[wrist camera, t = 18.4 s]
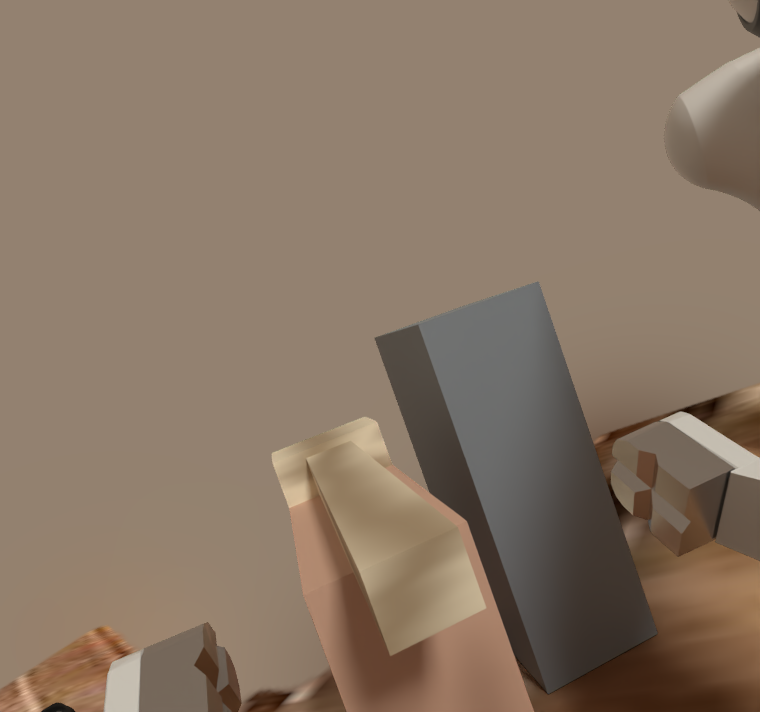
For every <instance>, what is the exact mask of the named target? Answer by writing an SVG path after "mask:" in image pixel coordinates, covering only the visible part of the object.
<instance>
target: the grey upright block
mask: <svg viewBox="0 0 760 712" xmlns="http://www.w3.org/2000/svg"><path fill="white" fill-rule="evenodd" d="M375 340H376V343H377V346H378V349H379V352H380V355H381V357H382V360H383V363H384V366H385V369H386V371H387V374H388V377H389V380H390V383H391V385H392V388H393V391H394V394H395V396H396V400H397V402H398V405H399V408H400V411H401V414H402V416H403V419H404V422H405V425H406V428H407V430H408V433H409V436H410V439H411V442H412V444H413V447H414V450H415V453H416V456H417V459H418V461H419V464H420V467H421V469H422V473H423V475H424V478H425V481H426V484H427V486H428V489H429V492H430V494H432V495H433V496H434V497H436V498H437V499H438V500H440V501H441V502H442V503H444V504H445V505H446V506H448V507H449V508H450V509H452V510H453V511H454V512H456V513H457V514H458V515H460V516H461V517H462V518H464V519H465V520H466V521H467V523H468V526H469V529H470V532H471V534H472V537H473V540H474V543H475V546H476V549H477V551H478V554H479V557H480V560H481V563H482V566H483V568H484V571H485V574H486V577H487V580H488V583H489V585H490V588H491V591H492V594H493V597H494V599H495V602H496V605H497V608H498V611H499V614H500V616H501V619H502V622H503V625H504V628H505V631H506V633H507V636H508V639H509V642H510V645H511V648H512V650H513V653H514V655H515V657H516V658H517V659H518V660H519V661H520V662H521V664H522V665H523V666H524V667H525V668H526V669H527V670H528V672H529V673H530V674H531V675H532V676H533V677H534V678H535V680H536V681H537V682H538V683H539V684H540V685H541V687H542V688H543V689H544V690H545V691H546V692H547V693H548V694H550V693H551V692H553V691H555V690H557V689H559V688H561V687H562V686H564V685H566V684H568V683H570V682H571V681H573V680H575V679H577V678H579V677H580V676H582V675H584V674H586V673H588V672H589V671H591V670H593V669H595V668H597V667H599V666H600V665H602V664H604V663H606V662H608V661H609V660H611V659H613V658H615V657H617V656H618V655H620V654H622V653H624V652H626V651H627V650H629V649H631V648H633V647H635V646H637V645H638V644H640V643H642V642H644V641H646V640H647V639H649V638H651V637H653V636H655V635H656V634H658V633H657V630H656V627H655V624H654V621H653V618H652V615H651V612H650V609H649V606H648V603H647V600H646V597H645V594H644V591H643V588H642V585H641V582H640V579H639V577H638V574H637V571H636V568H635V565H634V562H633V559H632V556H631V553H630V550H629V547H628V544H627V541H626V538H625V535H624V532H623V529H622V526H621V523H620V520H619V518H618V515H617V512H616V509H615V506H614V503H613V500H612V497H611V494H610V491H609V488H608V485H607V482H606V479H605V476H604V473H603V470H602V467H601V464H600V461H599V459H598V456H597V453H596V450H595V447H594V444H593V441H592V438H591V435H590V432H589V429H588V426H587V423H586V420H585V417H584V414H583V411H582V408H581V405H580V402H579V400H578V397H577V394H576V391H575V388H574V385H573V382H572V379H571V376H570V373H569V370H568V367H567V364H566V361H565V358H564V355H563V353H562V350H561V347H560V344H559V341H558V338H557V335H556V332H555V329H554V326H553V323H552V320H551V317H550V314H549V311H548V308H547V305H546V302H545V299H544V296H543V293H542V290H541V287H540V284H539V282H535V283H532V284H529V285H526V286H523V287H520V288H517V289H514V290H511V291H508V292H505V293H502V294H499V295H495V296H492V297H489V298H487V299H483V300H481V301H478V302H475V303H471V304H468V305H466V306H462V307H459V308H457V309H454V310H451V311H448V312H446V313H443V314H440V315H438V316H434V317H431V318H429V319H426V320H423V321H420V322H418V323H415V324H412V325H409V326H407V327H404V328H401V329H398V330H396V331H393V332H390V333H387V334H384V335H382V336H378V337H376V338H375Z"/></svg>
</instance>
